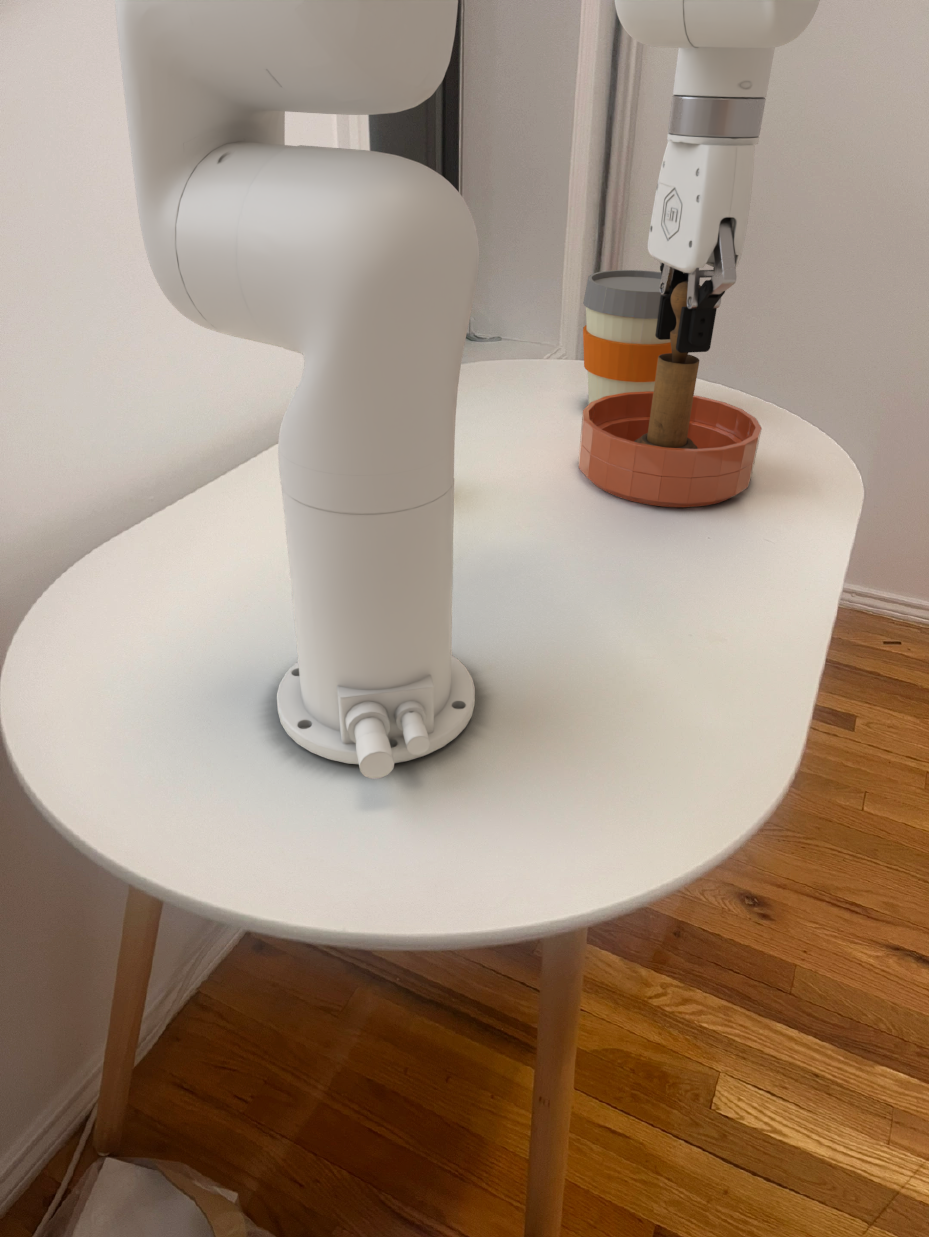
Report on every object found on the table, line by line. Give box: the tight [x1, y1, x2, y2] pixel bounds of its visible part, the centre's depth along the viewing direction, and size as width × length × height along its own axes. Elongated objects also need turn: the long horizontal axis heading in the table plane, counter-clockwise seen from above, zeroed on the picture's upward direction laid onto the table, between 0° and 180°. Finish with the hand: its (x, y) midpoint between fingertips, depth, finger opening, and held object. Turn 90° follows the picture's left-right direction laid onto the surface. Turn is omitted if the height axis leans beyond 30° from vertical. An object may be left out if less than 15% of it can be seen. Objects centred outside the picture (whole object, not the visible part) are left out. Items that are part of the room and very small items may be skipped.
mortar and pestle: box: [634, 281, 702, 449], centre depth 85 cm, size 7×6×18 cm
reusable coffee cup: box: [582, 269, 672, 404], centre depth 104 cm, size 13×13×15 cm
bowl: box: [577, 391, 763, 508], centre depth 89 cm, size 17×17×6 cm
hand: (681, 342), depth 83 cm, fingers open, 3 cm apart
